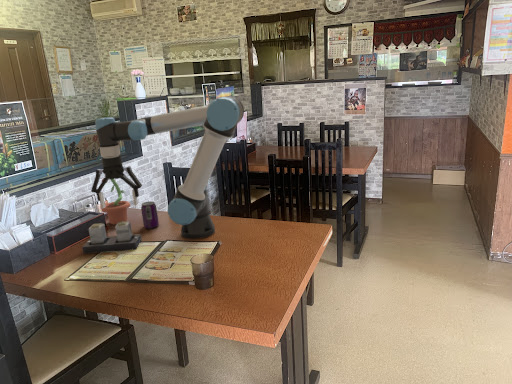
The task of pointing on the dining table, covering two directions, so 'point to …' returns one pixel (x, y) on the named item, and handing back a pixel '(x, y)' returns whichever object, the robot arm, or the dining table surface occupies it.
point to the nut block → (124, 232)
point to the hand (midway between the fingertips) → (120, 206)
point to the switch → (107, 241)
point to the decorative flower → (116, 207)
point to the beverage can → (149, 215)
